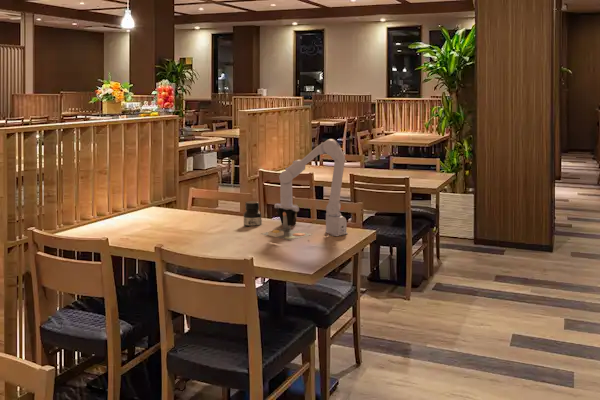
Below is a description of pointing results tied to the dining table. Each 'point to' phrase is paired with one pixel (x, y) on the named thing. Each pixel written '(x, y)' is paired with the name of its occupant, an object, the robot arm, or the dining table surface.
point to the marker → (285, 222)
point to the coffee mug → (294, 218)
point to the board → (287, 234)
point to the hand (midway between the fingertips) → (286, 224)
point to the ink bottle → (252, 214)
